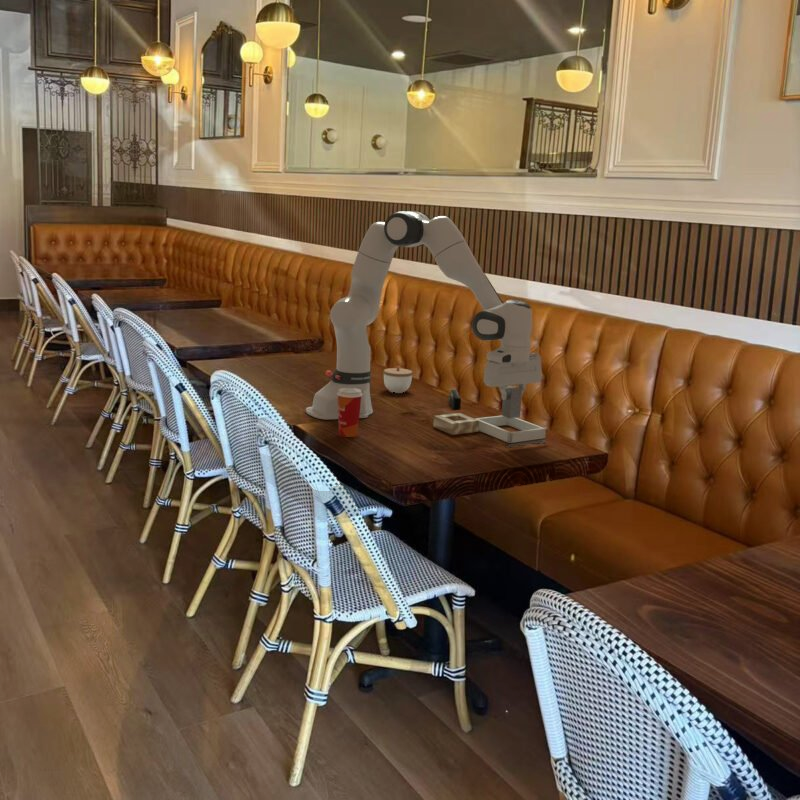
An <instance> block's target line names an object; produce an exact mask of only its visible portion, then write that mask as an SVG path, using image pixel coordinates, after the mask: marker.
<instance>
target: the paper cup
mask: <svg viewBox="0 0 800 800" xmlns="http://www.w3.org/2000/svg"><path fill="white" fill-rule="evenodd" d="M337 395H338V419H337V420H338V435H340V436H339V437H341V436H342V438H345V437H353V438H356V437H358V433H359V424H360V418H359V416H360V405H361V396H362V393H361V390H360V389H356V388H353V389H352V388H341V389H339V390H338V393H337Z"/></svg>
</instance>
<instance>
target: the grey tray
mask: <svg viewBox="0 0 800 800" xmlns="http://www.w3.org/2000/svg"><path fill="white" fill-rule="evenodd" d="M474 419H476V420H479V427H478V432H481V433H484V434H487V435H489V436H491V437H494V438H496V439H499V440H501V441H503V442H505V443H508V444H504V445H505V446H504V447H506V446H508V447H511V448H513V447H512V446H518V447H520V446H519V445H525V446H528V445H527V444H532V445H537V444H536V443H539V444H545V443H546V432H547V428H545V427H543V426H541V425H537V424H535V423H531V422H529V421H526V420H524V419H522V418H520V417H517V418H507V417H504V416H502V414H500V415H494V416H493V415H492V416H486V417H485V416H484V417H477V418H474ZM501 426H510V427H512V428H515V429H517V431H516V430H515V431H509V430H507V429H504V428H502V427H501ZM544 442H545V443H544ZM508 447H507V448H508Z"/></svg>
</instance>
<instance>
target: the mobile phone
mask: <svg viewBox="0 0 800 800" xmlns="http://www.w3.org/2000/svg"><path fill="white" fill-rule="evenodd" d="M448 402H449V404H450V407H451V409H452V410H453V409H454V411H460V410H461V407H462V406H461V404H462V403H461V402H462V399H461V397H460V395H459V392H458V390H456V389H451V390H450V391H449V398H448Z"/></svg>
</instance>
